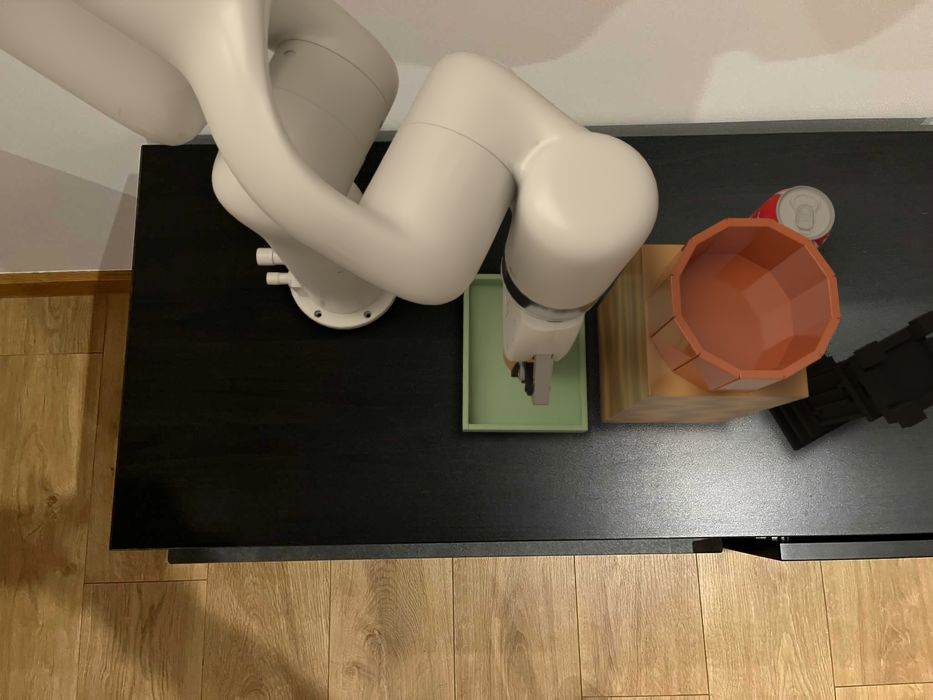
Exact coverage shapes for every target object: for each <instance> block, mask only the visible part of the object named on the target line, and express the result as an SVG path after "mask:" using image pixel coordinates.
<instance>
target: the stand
mask: <svg viewBox="0 0 933 700" xmlns="http://www.w3.org/2000/svg"><path fill="white" fill-rule="evenodd" d="M684 245H685V244H643V245H642V246H641V247H640V249H639V250H638V251H637V252H636V254H635V255H634V256H633V257H632V258H631V260H630V261H629V262H628V263H627V265H626V266H625V267H624V268H623V270H622V271H621V272H620V275H618V278H617V279H616V281H615V282H614V283H613V285H612V286H611V288H610V289H609V290H608V292H607V293H606V295H605V296H604V297H603V299H602V301H601V302H600V303H599V305H598V306H597V308H596V311H597V315H596V316H597V340H598V341H597V343H598V345H597V346H598V364H599V365H598V369H599V398H600V399H599V401H600V422H601V423H602V424H603V423H604V424H605V423H606V424H610V423H611V424H722V423H726V422H729V421H733V420H736V419H739V418H742V417H746V416H749V415H752V414H757V413H760V412H763V411H767V410H769V408H773V407H776V406H779V405H783V404H786V403H789V402H793V401H796V400H800V399H803V398H806V397H809V394H808V384H807V373H806V367H805V368H803V369H802V370H800V371H798V372H797V373H795V374H793V375H792V376H790V377H788V378H787V379H784V380H781V381H779V382H776V383H773V384H771V385H768V386H765V387H763V388H760V389H757V390H755V391H752V392H748V393H728V392H710V391H708V392H707V391H705V390H703V389H702V388H700V387H698V386H696V385H695V384H693V383H691V382H689V381H687V380H686V379H684V378H682V377H680V376H678V375H677V374H675V373H673V371H674V370H673V371H671V369H670V368H669V366H668V365H667V363H666V362H665V360H664V358H663V357H662V355H661V354H660V352H659V351H658V349H657V348H656V346H655V344H654V343H653V341H652V340H651V337H650V327H649V308H648V300H649V296H650V294H651V292H652V291H653V289H654V287H655V285H656V283H657V281H658V280H659V278H660V276H661V274H662V272H663V271H664V269H665V267H666V266H667V265H668V264H669V263H670V261H671V260H672V259H673V258H674V257H675V256H676V254H677V253H678V252H679V251H680V250H681V249H682V248H683V246H684Z"/></svg>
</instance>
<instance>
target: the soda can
mask: <svg viewBox="0 0 933 700" xmlns="http://www.w3.org/2000/svg"><path fill="white" fill-rule="evenodd" d="M834 207H835V206H834V205H833V203H832V201H831V199H830V198H829V197H828V196H827V194H826V193H824V192H823V191H821V190H820V189H818V188H815V187H813V186H808V185H796V186H792V187H790V188H785V189H782V190H780V191H777V192H775V193H774V194H773V195H772V196H770V197H769V198H768V199H766V200H765V202H764V203H763V204H761V205H760V206H759V207H758V208H757V209H756V211H754V212H753V213H752V214H751V215H750V216H749V217H748V218H769V220H770V219H773V220H775V221H777V222H778V223H780V224H782V225H784V226H786V227H788V228H790V229H792V230H794V231H796V232H798V233H799V234H801V235H803V236H805V237H807V238H809V241H810V240H811V241H812V242H813V244H814V245H815V247H816V248H817V249H819V248H820V247H821V246H822V245H823V244H824V243H825V242H826V240H827V239H828V238H829V236H830V234H831V231H832V228H833V226H834V223H835V220H836V219H835V217H836V214H835V213H836V212H835V208H834Z"/></svg>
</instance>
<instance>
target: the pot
mask: <svg viewBox="0 0 933 700" xmlns="http://www.w3.org/2000/svg"><path fill="white" fill-rule="evenodd" d="M683 245H684V246H683V248H682V249H681V250H680V251H679V252H678V253H677V254H676V256H675V257H674V258H673V259H672V260H671V261H670V263H669V264H668V265H667V266H666V267H665V269H664V271H663V272H662V274H661V276H660V278H659V280H658V281H657V283H656V285H655V287H654V289H653V291H652V292H651V294H650V296H649V300H648V308H649V327H650V337H651V340H652V341H653V343H654V344H655V346H656V348H657V349H658V351H659V352H660V354H661V355H662V357H663V358H664V360H665V362H666V363H667V365H668V366H669V368H670V369H671V371H673V370H674V371H673V373H675V374H677V375H678V376H680V377H682V378H684V379H686V380H687V381H689V382H691V383H693V384H695V385H696V386H698V387H700V388H702V389H703V390H705V391H707V392H708V391H710V392H728V393H748V392H752V391H755V390H757V389H760V388H763V387H765V386H768V385H771V384H773V383H776V382H779V381H781V380H784V379H787V378H788V377H790V376H792V375H793V374H795V373H797V372H798V371H800V370H802V369H803V368H805V367H807V366H808V365H810V364H812V363H814V362H815V361H817V360H819V359H820V358H821V356H823V355H824V354H826V351H827V349H828V347H829V345H830V342H831V340H832V339H833V336H834V334H835V332H836V330H837V328H838V326H839V325H840V322H841V318H842V317H841V308H840V306H841V305H840V296H839V289H838V281H837V280H838V279H837V276H836V273H835V272H834V271H833V269H832V267H831V266H830V265H829V264H828V262H827V260H826V259H825V258H824V257H823V255H822V254H821V252H820V251H819V248H816V247H815V245H814V244H813V242H812V241H811V240H810V241H809V238H807V237H805V236H803V235H801V234H799V233H798V232H796V231H794V230H792V229H790V228H788V227H786V226H784V225H782V224H780V223H778V222H777V221H775V220H773V219H770V220H769V218H749V217H745V218H744V217H728V218H724V219H722V220H721V221H719V222H717V223H715V224H713V225H712V226H709V227H708V228H706V229H704V230H702V231H700V232H698V233H697V234H694V235H693V236H692V237H691V238H689V239H688V240H687V241H686V243H685V244H683Z"/></svg>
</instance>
